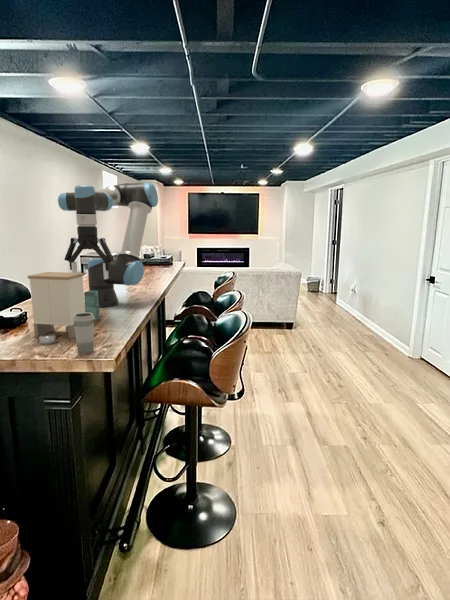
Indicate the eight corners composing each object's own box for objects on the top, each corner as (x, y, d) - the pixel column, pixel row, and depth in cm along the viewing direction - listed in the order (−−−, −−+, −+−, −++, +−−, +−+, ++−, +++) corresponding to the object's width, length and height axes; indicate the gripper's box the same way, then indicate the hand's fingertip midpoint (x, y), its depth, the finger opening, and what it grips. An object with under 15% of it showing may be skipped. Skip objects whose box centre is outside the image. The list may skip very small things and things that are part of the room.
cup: (93, 354, 120) (91, 317, 118) (71, 355, 120) (68, 317, 117) (99, 347, 127) (97, 311, 125) (78, 347, 127) (75, 312, 124)
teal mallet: (90, 318, 165) (88, 290, 163) (99, 318, 164) (97, 291, 162) (64, 331, 146) (62, 299, 143) (74, 331, 145) (72, 300, 143)
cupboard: (51, 329, 148) (46, 271, 143) (87, 331, 146) (83, 273, 141) (33, 337, 137) (27, 275, 133) (72, 339, 135) (67, 277, 131)
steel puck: (45, 340, 134) (45, 333, 134) (58, 341, 134) (58, 334, 133) (36, 344, 130) (36, 337, 129) (50, 345, 129) (49, 338, 128)
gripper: (52, 225, 153) (57, 278, 158) (112, 226, 150) (115, 280, 154) (63, 225, 160) (67, 276, 165) (120, 225, 157) (123, 277, 161)
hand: (90, 278), depth 160 cm, fingers open, 13 cm apart
